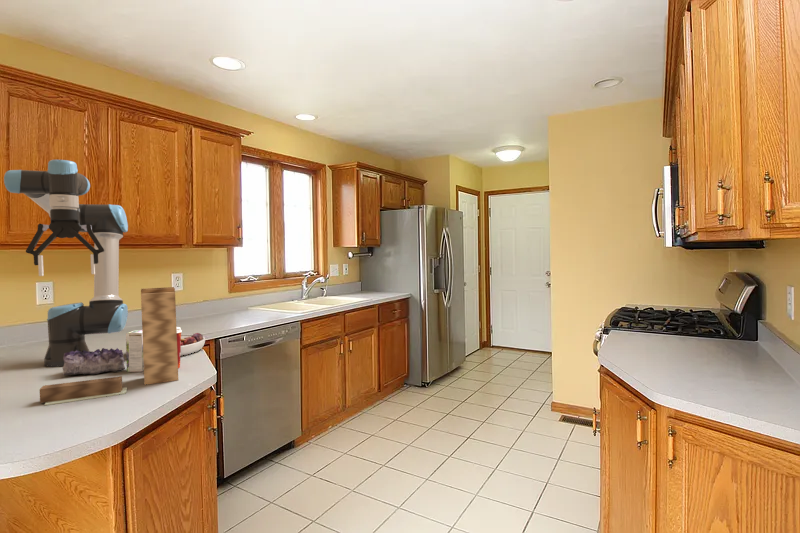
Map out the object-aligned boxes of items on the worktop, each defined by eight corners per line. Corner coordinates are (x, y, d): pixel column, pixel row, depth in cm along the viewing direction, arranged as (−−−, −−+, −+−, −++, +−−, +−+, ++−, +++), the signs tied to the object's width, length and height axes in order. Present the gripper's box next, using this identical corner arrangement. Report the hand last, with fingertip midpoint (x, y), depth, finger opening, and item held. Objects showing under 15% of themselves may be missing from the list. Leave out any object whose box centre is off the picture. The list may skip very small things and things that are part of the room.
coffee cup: (188, 366, 169) (186, 327, 169) (170, 372, 162) (169, 331, 161) (171, 364, 172) (169, 326, 172) (153, 370, 164) (151, 330, 164)
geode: (130, 365, 173) (129, 340, 171) (121, 377, 162) (120, 351, 160) (68, 368, 166) (66, 343, 165) (54, 381, 156) (53, 354, 154)
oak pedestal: (144, 384, 147) (140, 290, 145) (144, 377, 155) (141, 288, 154) (178, 380, 152) (175, 288, 150) (176, 373, 160) (173, 286, 159)
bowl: (118, 364, 175) (117, 344, 174) (137, 348, 203) (136, 331, 203) (201, 357, 184) (200, 338, 184) (208, 343, 213) (207, 326, 212)
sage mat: (44, 405, 128) (44, 404, 128) (48, 399, 133) (48, 398, 133) (126, 393, 138) (125, 392, 138) (126, 388, 143) (126, 387, 143)
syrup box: (134, 368, 168) (132, 330, 167) (150, 367, 168) (149, 329, 168) (126, 372, 162) (124, 332, 162) (143, 371, 163) (141, 332, 162)
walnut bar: (40, 402, 129) (39, 389, 129) (44, 398, 133) (43, 385, 133) (120, 392, 138) (120, 379, 138) (122, 388, 142) (121, 376, 142)
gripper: (11, 206, 134) (15, 277, 135) (109, 209, 146) (112, 273, 147) (17, 209, 141) (21, 276, 141) (111, 211, 153) (114, 272, 154)
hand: (67, 275), depth 144 cm, fingers open, 13 cm apart
